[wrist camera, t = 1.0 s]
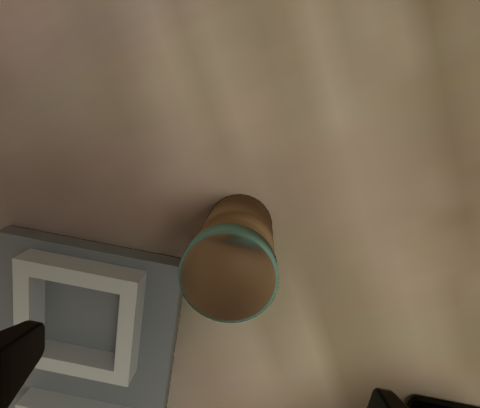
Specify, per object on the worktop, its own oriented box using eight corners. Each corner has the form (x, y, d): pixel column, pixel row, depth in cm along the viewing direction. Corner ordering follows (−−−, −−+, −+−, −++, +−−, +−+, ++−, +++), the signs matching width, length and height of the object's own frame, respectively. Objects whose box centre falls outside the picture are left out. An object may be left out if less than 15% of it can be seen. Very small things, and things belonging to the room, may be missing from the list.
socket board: (187, 259, 21) (176, 279, 18) (156, 479, 26) (144, 519, 23) (11, 225, 21) (-25, 240, 19) (15, 449, 26) (-12, 485, 24)
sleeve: (279, 199, 19) (288, 241, 13) (266, 261, 20) (267, 331, 14) (212, 187, 19) (184, 222, 13) (202, 249, 21) (172, 312, 14)
